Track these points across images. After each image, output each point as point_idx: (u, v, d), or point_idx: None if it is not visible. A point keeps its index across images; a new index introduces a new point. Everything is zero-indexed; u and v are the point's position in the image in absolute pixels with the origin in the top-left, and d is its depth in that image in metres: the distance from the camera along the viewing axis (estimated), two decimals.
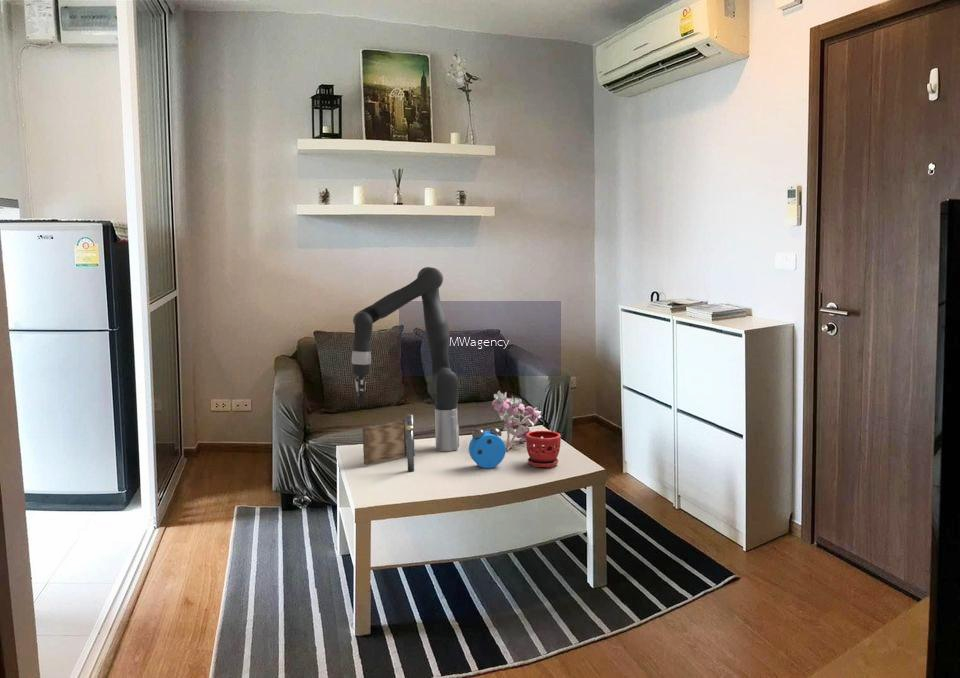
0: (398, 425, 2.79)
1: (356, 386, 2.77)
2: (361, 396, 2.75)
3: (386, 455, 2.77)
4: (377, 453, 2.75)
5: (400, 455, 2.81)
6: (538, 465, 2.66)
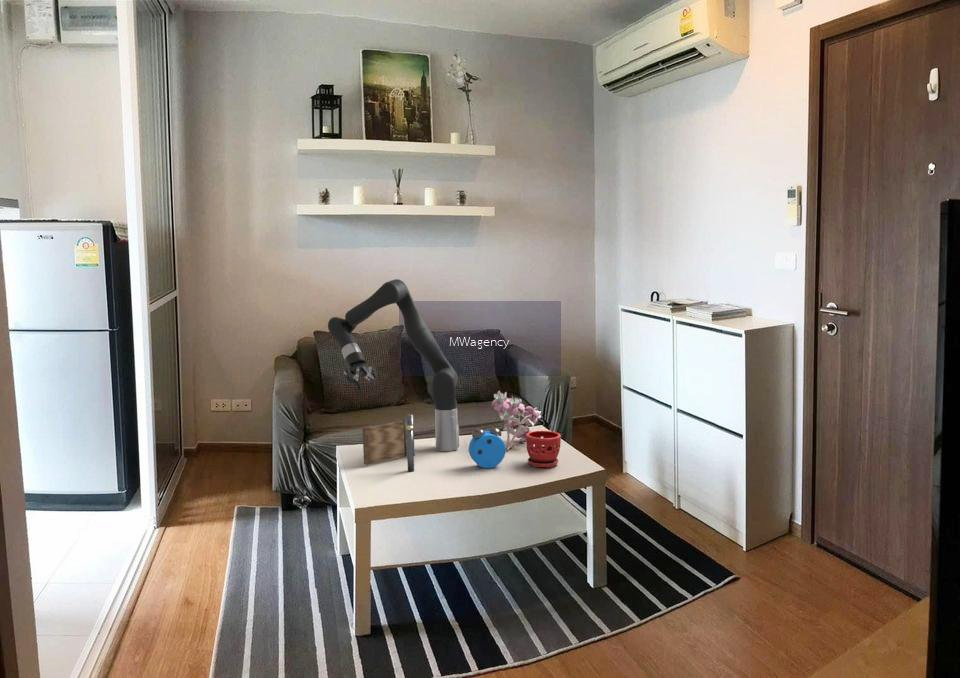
0: (398, 425, 2.79)
1: None
2: (355, 383, 2.88)
3: (386, 455, 2.77)
4: (377, 453, 2.75)
5: (400, 455, 2.81)
6: (538, 465, 2.66)
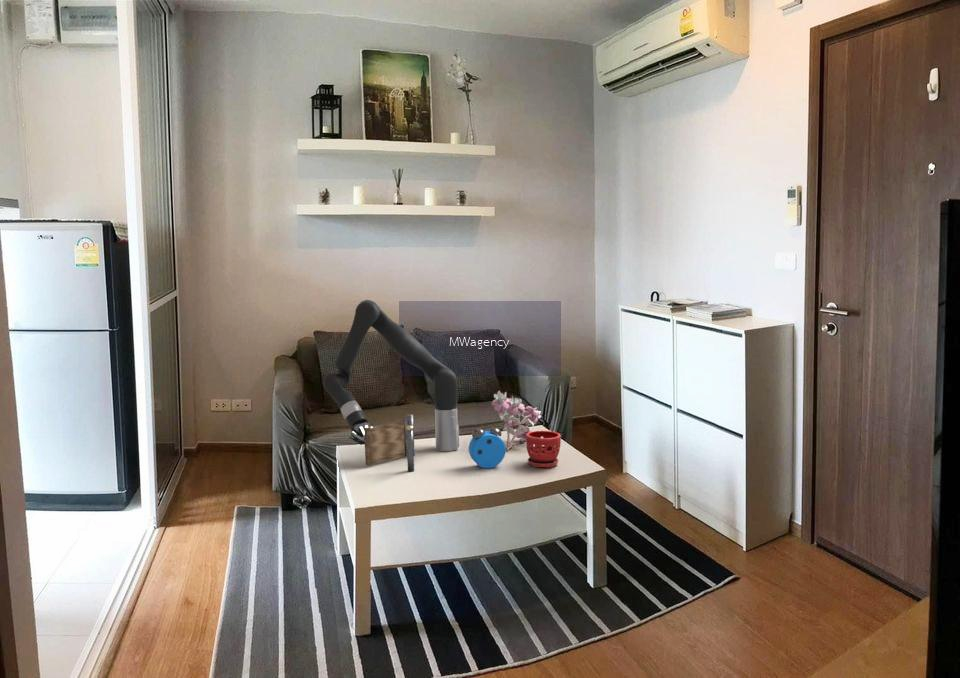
0: (398, 425, 2.79)
1: None
2: None
3: (387, 455, 2.77)
4: (378, 454, 2.74)
5: (400, 455, 2.81)
6: (538, 465, 2.66)
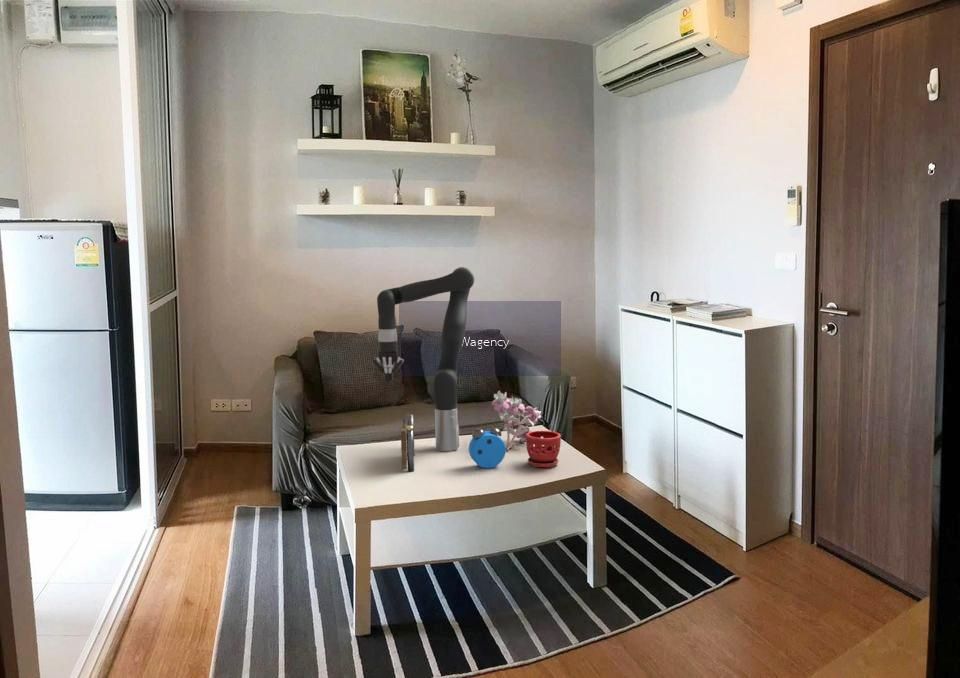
0: None
1: None
2: None
3: None
4: None
5: None
6: (538, 465, 2.66)
